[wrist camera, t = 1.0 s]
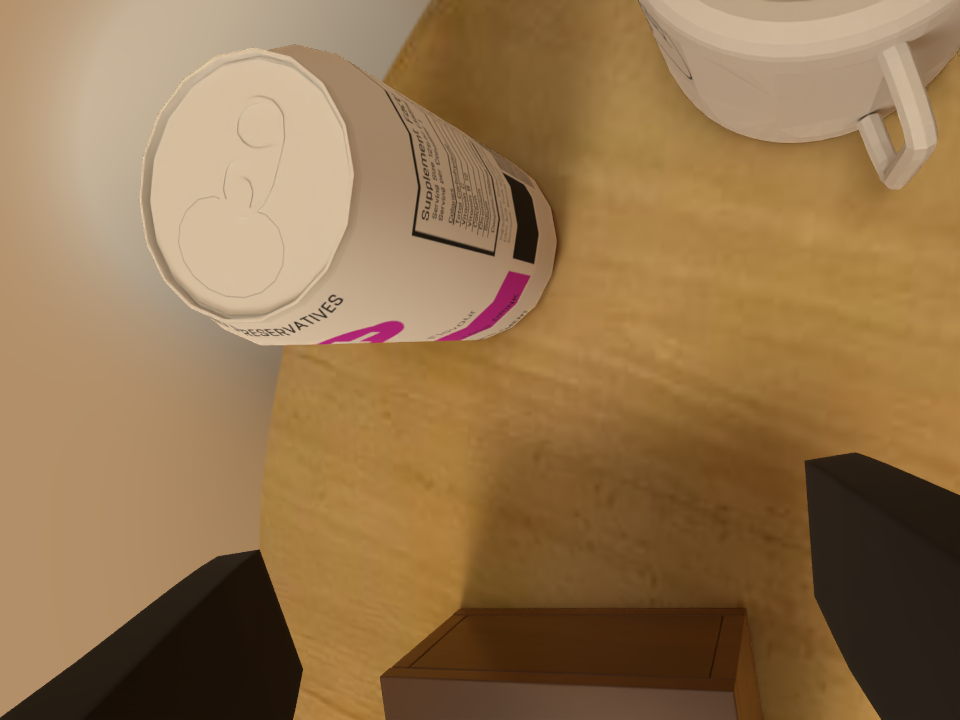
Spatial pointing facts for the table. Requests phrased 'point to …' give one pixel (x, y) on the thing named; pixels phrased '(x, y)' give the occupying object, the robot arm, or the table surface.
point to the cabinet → (579, 666)
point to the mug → (813, 68)
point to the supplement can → (335, 208)
